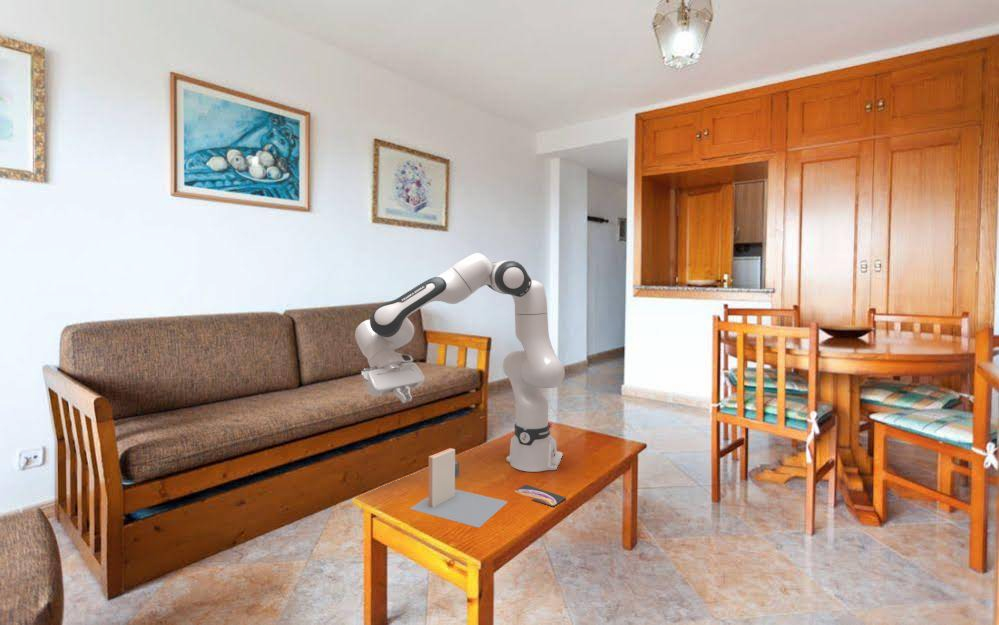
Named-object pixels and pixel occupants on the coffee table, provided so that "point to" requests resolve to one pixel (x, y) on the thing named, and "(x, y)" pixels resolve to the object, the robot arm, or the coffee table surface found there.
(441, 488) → the tile
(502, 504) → the mat
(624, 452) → the coffee table surface
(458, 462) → the dice cube
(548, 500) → the smartphone
